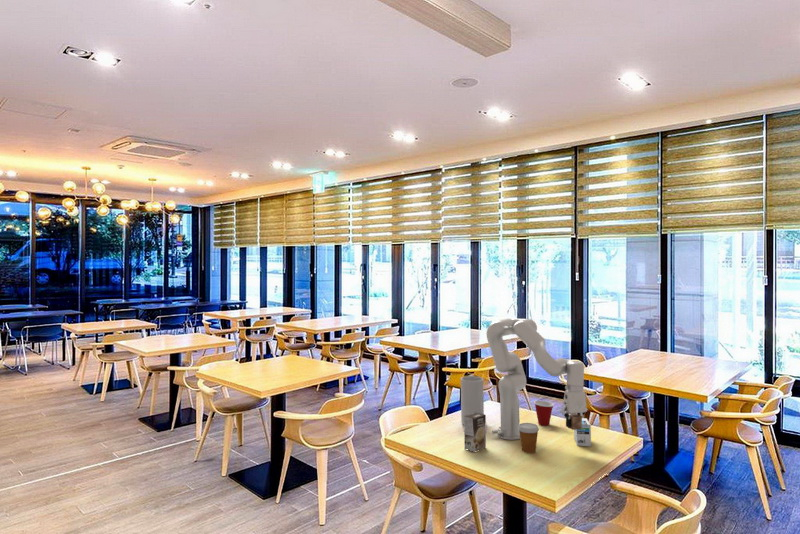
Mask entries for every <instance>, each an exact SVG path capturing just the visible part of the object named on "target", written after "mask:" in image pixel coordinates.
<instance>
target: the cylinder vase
mask: <svg viewBox="0 0 800 534" xmlns="http://www.w3.org/2000/svg"><path fill="white" fill-rule="evenodd" d="M484 394H485V393H484V377H481V376H471V375H470V376H462V377H460V410H461V412H460V413H461V414H460V417H461V418H460V419H461V421H460V422H461V424H462V425H464V416H466V415H469V414H473V413H480V414H484V415H485V413H484V411H485V410H484V409H485V404H484V403H485V402H484V401H485V400H484V398H485V397H484Z"/></svg>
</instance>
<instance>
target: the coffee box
mask: <svg viewBox="0 0 800 534" xmlns="http://www.w3.org/2000/svg"><path fill="white" fill-rule="evenodd" d="M486 417H487V416H486V414H485V413H484V414H480V413H473V414H469V415H466V416H464V424H463V426H464V438H463V439H464V444H463V445H464V450H465V449H468V450H470V451H469V452H472V451H473V452H472V453H476V452H475V451H477V452H479V451H481V450H480V449H482V448H484V449H486V448H485V447H487V443H486V442H487V441H486V440H487V439H486V438H487V437H486V436H487V435H486V434H487V429H486V428H487V425H486V424H487V421H486V420H487V419H486ZM468 450H467V451H468ZM478 450H479V451H478ZM482 450H483V449H482Z"/></svg>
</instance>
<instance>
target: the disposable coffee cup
mask: <svg viewBox="0 0 800 534" xmlns="http://www.w3.org/2000/svg"><path fill="white" fill-rule="evenodd" d="M518 429H519V432H520V439H519V440H520V446H521V452H522V453H526V454H535V453H536V451H537V444H538V434H539V430H540V428H539V426H538V425H537V424H536V423H532V422H522V423H521V422H520V423H519V427H518Z"/></svg>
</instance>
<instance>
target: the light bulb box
mask: <svg viewBox="0 0 800 534" xmlns="http://www.w3.org/2000/svg"><path fill="white" fill-rule="evenodd" d="M591 426H592V424H591V423H590V421H589V419H588V418H586V417H585V418H584V417H583V418H582V429H576V430H573V433H574V434H573V435H574V437H573V439H574V441H575V443H576V446H577V447H592V427H591Z"/></svg>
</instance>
